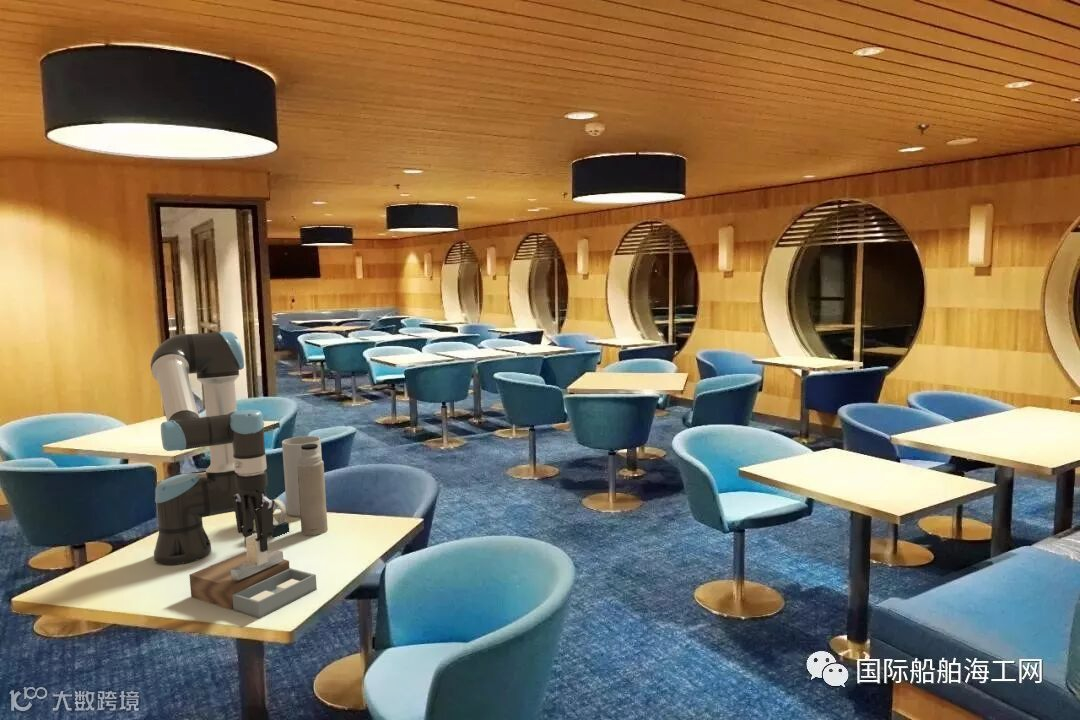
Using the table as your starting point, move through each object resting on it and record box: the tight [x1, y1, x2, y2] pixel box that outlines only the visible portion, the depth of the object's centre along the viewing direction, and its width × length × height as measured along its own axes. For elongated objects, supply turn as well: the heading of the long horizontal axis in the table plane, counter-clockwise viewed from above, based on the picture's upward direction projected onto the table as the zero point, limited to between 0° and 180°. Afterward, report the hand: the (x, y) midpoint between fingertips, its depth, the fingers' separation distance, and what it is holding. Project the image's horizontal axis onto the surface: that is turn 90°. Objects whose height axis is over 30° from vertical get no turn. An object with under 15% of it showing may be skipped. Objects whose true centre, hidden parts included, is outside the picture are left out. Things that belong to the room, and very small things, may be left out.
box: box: [232, 567, 318, 620], centre depth 186 cm, size 9×18×4 cm, turn 150°
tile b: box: [276, 579, 299, 592], centre depth 189 cm, size 5×5×2 cm
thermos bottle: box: [297, 444, 329, 536], centre depth 234 cm, size 8×8×28 cm
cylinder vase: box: [281, 435, 323, 517], centre depth 254 cm, size 12×12×25 cm
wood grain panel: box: [189, 551, 291, 611], centre depth 193 cm, size 16×18×6 cm
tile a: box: [250, 590, 274, 601], centre depth 183 cm, size 5×5×2 cm
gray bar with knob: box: [231, 541, 284, 581], centre depth 188 cm, size 3×14×7 cm, turn 150°
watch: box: [271, 498, 290, 538], centre depth 233 cm, size 6×8×11 cm
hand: (257, 561), depth 189 cm, fingers closed on gray bar with knob, 3 cm apart
